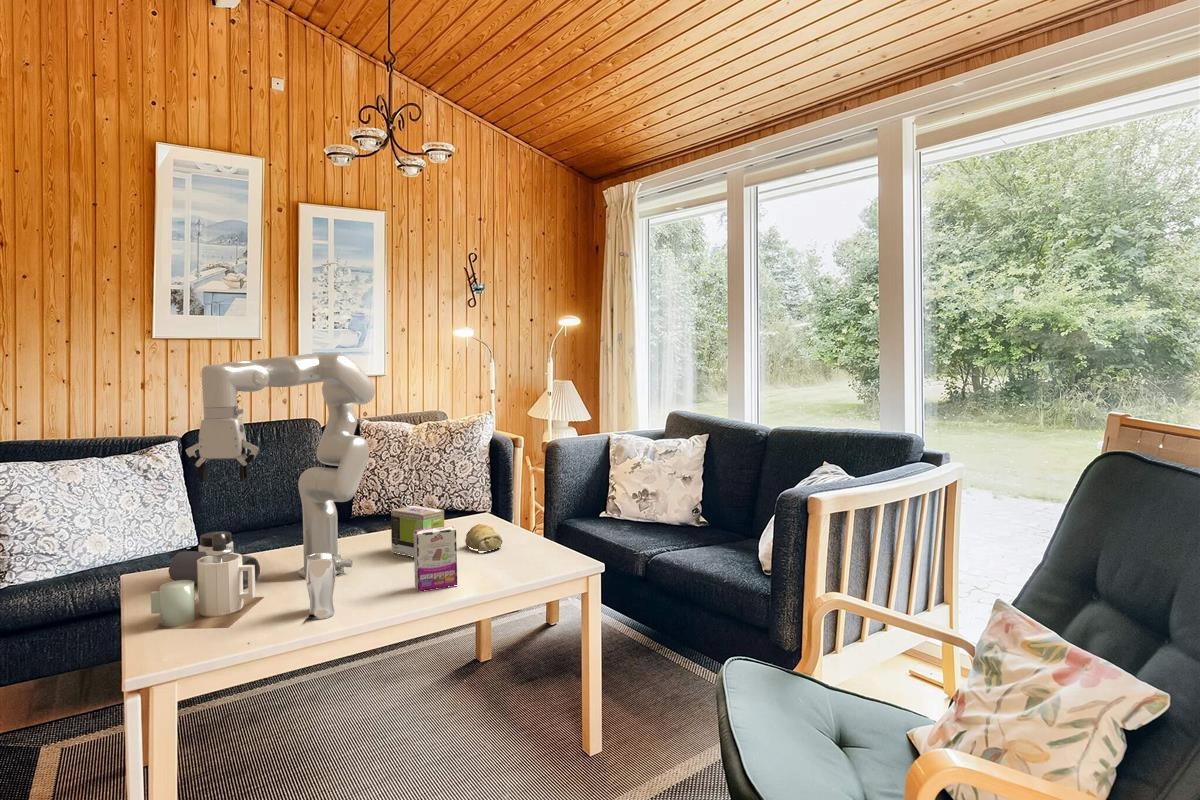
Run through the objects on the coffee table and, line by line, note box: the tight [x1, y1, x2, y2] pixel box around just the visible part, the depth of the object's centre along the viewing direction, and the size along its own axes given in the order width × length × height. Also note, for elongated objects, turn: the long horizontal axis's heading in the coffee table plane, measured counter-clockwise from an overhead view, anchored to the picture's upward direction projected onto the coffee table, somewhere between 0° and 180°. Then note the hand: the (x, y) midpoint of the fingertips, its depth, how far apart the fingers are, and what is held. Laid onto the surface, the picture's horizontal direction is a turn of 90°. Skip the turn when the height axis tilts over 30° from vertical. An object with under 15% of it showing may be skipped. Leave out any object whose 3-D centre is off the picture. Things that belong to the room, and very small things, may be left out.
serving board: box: [152, 596, 265, 630], centre depth 172 cm, size 17×21×1 cm
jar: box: [198, 530, 234, 553], centre depth 205 cm, size 9×8×12 cm
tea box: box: [390, 505, 445, 558], centre depth 228 cm, size 15×10×15 cm, turn 58°
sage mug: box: [150, 580, 196, 627], centre depth 166 cm, size 9×7×9 cm
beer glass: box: [305, 552, 337, 620], centre depth 174 cm, size 7×7×15 cm
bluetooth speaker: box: [168, 550, 261, 589], centre depth 194 cm, size 23×9×10 cm, turn 77°
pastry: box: [464, 523, 503, 551], centre depth 236 cm, size 14×12×8 cm
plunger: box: [206, 531, 234, 563], centre depth 173 cm, size 7×7×17 cm
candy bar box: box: [413, 525, 458, 592], centre depth 195 cm, size 11×5×16 cm, turn 117°
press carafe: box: [197, 552, 256, 617], centre depth 174 cm, size 13×10×13 cm
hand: (224, 480), depth 176 cm, fingers open, 9 cm apart
